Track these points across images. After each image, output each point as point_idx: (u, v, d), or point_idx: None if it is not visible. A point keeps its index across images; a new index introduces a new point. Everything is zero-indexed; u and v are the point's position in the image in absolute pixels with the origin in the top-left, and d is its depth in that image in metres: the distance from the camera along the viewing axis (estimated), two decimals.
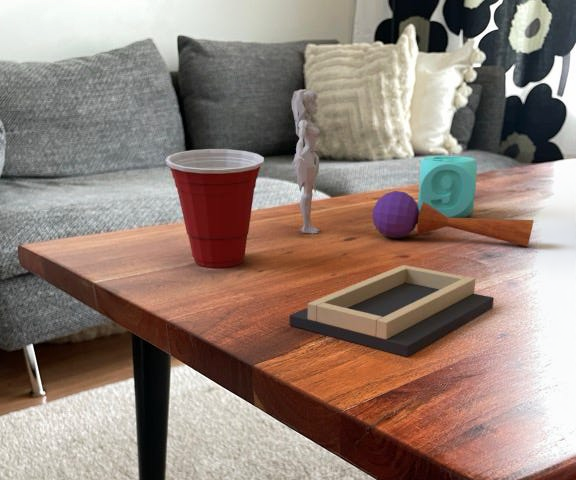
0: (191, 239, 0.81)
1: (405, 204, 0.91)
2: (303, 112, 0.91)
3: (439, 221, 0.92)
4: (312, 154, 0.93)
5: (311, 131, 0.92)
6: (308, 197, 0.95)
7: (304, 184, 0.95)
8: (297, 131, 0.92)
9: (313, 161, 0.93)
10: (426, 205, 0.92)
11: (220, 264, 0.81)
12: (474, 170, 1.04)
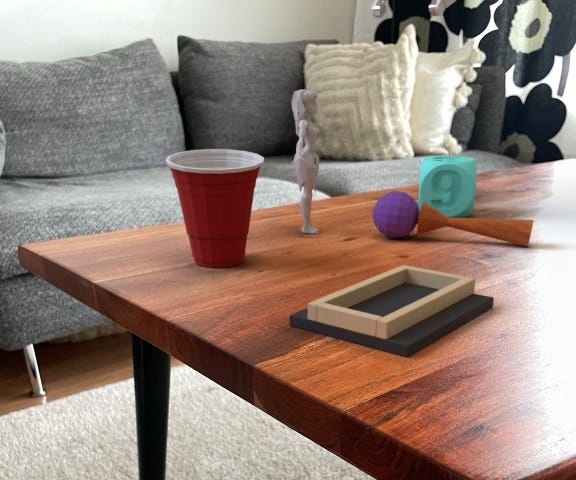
0: (191, 239, 0.81)
1: (406, 204, 0.91)
2: (303, 112, 0.91)
3: (439, 221, 0.92)
4: (312, 154, 0.93)
5: (311, 131, 0.92)
6: (308, 197, 0.95)
7: (304, 184, 0.95)
8: (297, 131, 0.92)
9: (313, 161, 0.93)
10: (426, 205, 0.92)
11: (220, 264, 0.81)
12: (474, 170, 1.04)
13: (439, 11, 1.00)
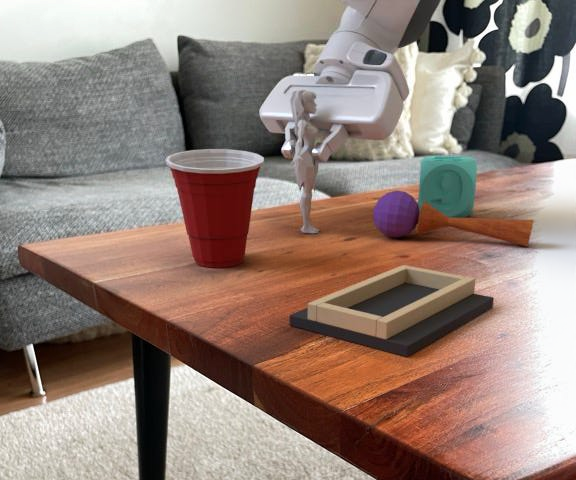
0: (191, 239, 0.81)
1: (406, 203, 0.91)
2: (302, 112, 0.91)
3: (439, 221, 0.92)
4: (311, 154, 0.93)
5: (310, 130, 0.92)
6: (308, 197, 0.95)
7: (303, 184, 0.95)
8: (296, 131, 0.93)
9: (312, 161, 0.93)
10: (426, 205, 0.92)
11: (220, 264, 0.81)
12: (474, 170, 1.04)
13: (323, 157, 0.92)
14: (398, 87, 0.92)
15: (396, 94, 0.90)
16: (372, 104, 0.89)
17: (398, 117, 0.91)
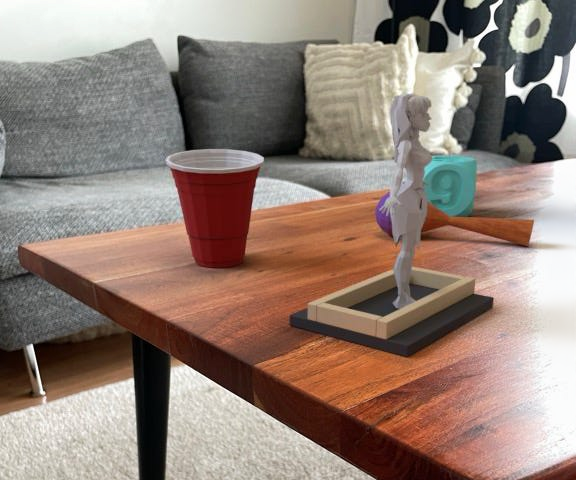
0: (191, 239, 0.81)
1: None
2: (406, 129, 0.58)
3: (440, 220, 0.92)
4: (417, 193, 0.60)
5: (417, 158, 0.59)
6: (407, 257, 0.63)
7: (402, 237, 0.62)
8: (396, 157, 0.60)
9: (418, 204, 0.60)
10: (428, 204, 0.93)
11: (220, 264, 0.81)
12: (474, 170, 1.04)
13: None
14: None
15: None
16: None
17: None
